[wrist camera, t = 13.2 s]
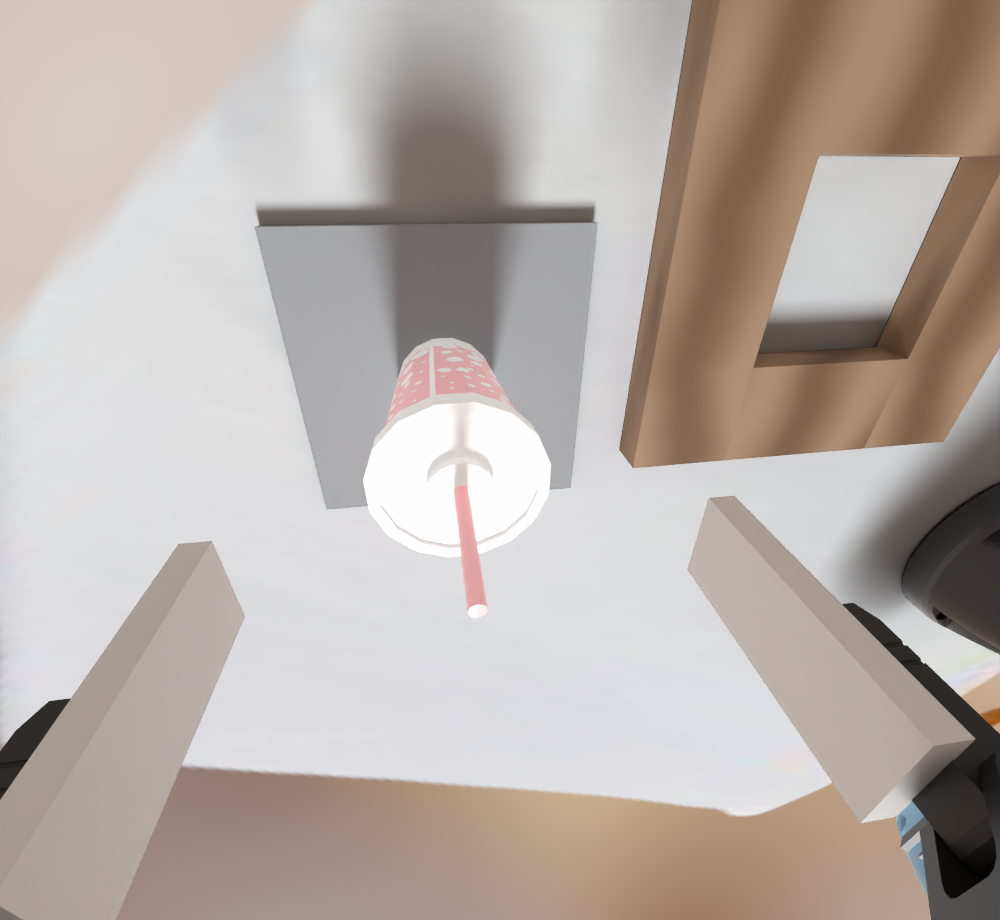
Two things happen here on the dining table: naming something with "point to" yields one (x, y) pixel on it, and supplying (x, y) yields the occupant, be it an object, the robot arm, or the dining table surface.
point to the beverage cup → (455, 462)
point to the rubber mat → (428, 325)
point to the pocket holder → (775, 215)
